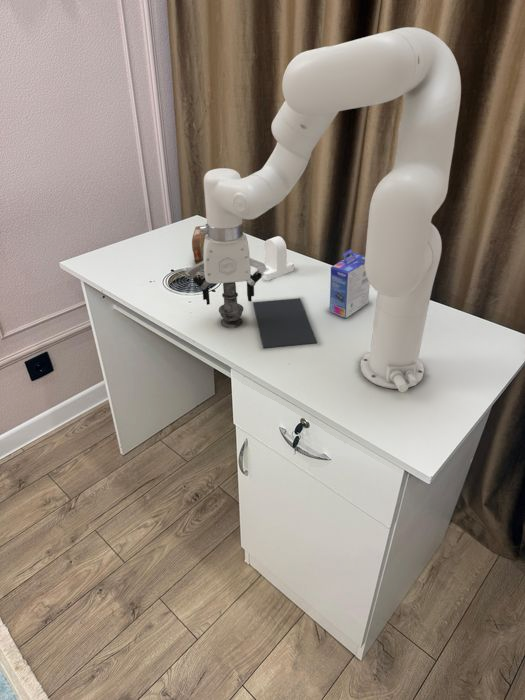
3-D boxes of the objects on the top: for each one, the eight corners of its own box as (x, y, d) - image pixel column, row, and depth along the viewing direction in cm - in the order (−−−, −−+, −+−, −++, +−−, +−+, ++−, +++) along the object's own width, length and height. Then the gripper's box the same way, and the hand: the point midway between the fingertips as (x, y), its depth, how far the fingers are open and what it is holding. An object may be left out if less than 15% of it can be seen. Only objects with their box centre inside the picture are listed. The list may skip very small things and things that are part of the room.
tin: (204, 269, 145) (201, 241, 140) (193, 269, 145) (190, 241, 140) (209, 247, 157) (207, 221, 152) (199, 247, 157) (196, 221, 152)
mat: (316, 343, 113) (317, 342, 113) (263, 348, 112) (263, 347, 112) (300, 299, 130) (300, 298, 129) (253, 303, 128) (253, 302, 128)
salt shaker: (241, 329, 119) (238, 283, 112) (216, 327, 120) (212, 281, 113) (246, 316, 123) (244, 271, 116) (223, 314, 124) (219, 270, 117)
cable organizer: (294, 270, 143) (295, 236, 137) (267, 281, 138) (266, 246, 132) (282, 263, 146) (282, 230, 140) (255, 274, 141) (254, 240, 136)
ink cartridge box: (350, 296, 130) (355, 243, 122) (369, 303, 127) (375, 249, 119) (327, 311, 124) (330, 256, 116) (345, 319, 121) (350, 263, 113)
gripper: (184, 240, 104) (191, 311, 114) (267, 235, 106) (267, 305, 116) (183, 225, 110) (191, 294, 120) (263, 221, 112) (263, 289, 122)
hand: (228, 300), depth 118 cm, fingers open, 9 cm apart
